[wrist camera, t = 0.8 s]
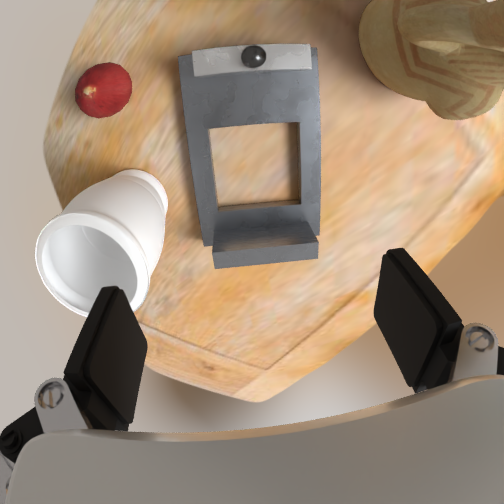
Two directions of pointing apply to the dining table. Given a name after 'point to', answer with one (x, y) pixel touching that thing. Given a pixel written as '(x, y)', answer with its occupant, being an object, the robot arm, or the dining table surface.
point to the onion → (103, 90)
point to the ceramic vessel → (437, 52)
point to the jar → (104, 241)
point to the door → (251, 59)
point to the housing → (247, 113)
